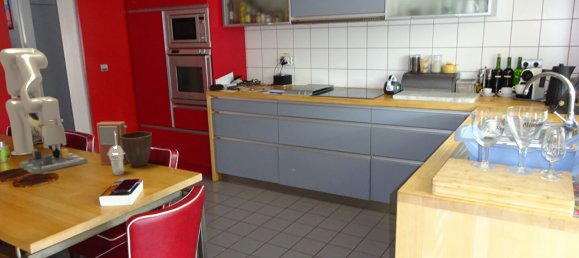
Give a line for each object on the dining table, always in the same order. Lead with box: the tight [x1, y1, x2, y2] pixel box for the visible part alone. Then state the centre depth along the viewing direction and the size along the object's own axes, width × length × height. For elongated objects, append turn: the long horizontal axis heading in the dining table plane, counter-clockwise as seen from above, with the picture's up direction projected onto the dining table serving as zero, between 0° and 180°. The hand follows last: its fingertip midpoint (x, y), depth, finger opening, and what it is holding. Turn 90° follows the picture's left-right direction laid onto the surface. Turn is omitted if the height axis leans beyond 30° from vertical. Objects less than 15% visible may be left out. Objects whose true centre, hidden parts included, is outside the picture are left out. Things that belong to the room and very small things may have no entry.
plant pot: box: [120, 131, 153, 168], centre depth 220 cm, size 15×15×16 cm
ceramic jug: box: [24, 95, 44, 145], centre depth 272 cm, size 17×15×30 cm
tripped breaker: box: [58, 148, 71, 159], centre depth 229 cm, size 4×5×5 cm
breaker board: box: [18, 149, 88, 175], centre depth 225 cm, size 22×26×7 cm
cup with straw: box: [107, 131, 126, 176], centre depth 207 cm, size 8×9×20 cm
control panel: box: [96, 121, 129, 165], centre depth 225 cm, size 21×7×15 cm
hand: (56, 157), depth 226 cm, fingers closed
